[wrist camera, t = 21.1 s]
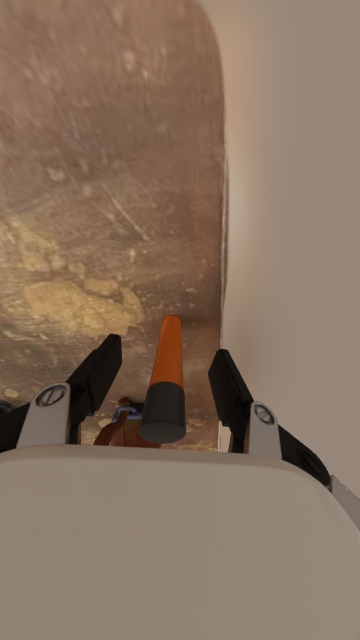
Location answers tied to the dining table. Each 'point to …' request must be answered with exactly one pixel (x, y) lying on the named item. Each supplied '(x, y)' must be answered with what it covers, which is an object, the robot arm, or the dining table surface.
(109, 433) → the mug
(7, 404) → the chess piece
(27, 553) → the robot arm
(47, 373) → the dining table surface
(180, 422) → the marker
